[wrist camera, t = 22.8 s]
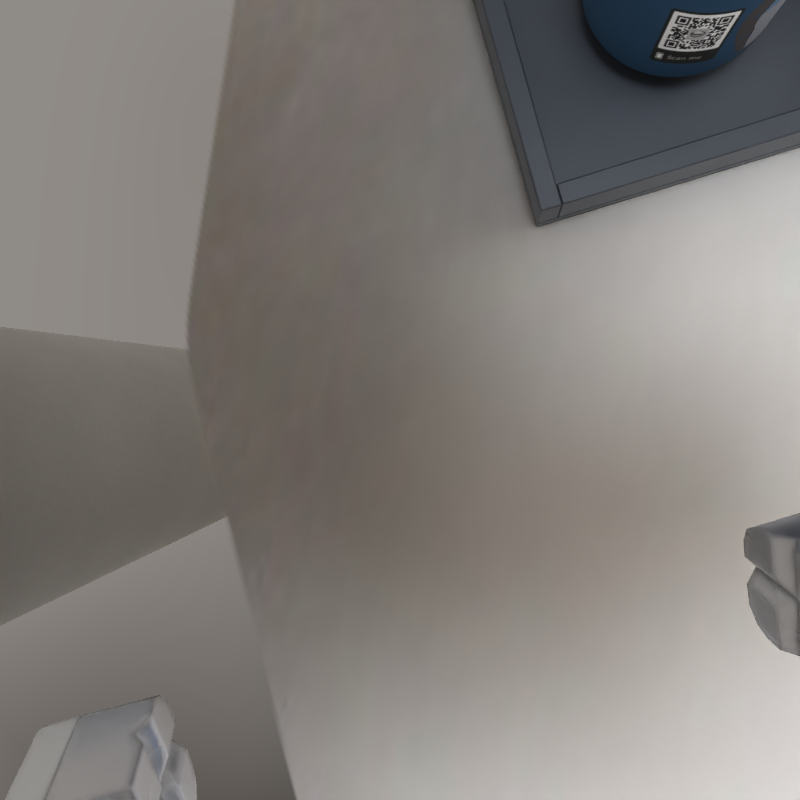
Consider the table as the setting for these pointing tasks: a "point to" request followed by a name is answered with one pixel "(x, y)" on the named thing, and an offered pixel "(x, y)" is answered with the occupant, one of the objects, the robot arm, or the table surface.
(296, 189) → the table surface
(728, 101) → the tray
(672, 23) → the soda can
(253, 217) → the table surface
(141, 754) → the robot arm
